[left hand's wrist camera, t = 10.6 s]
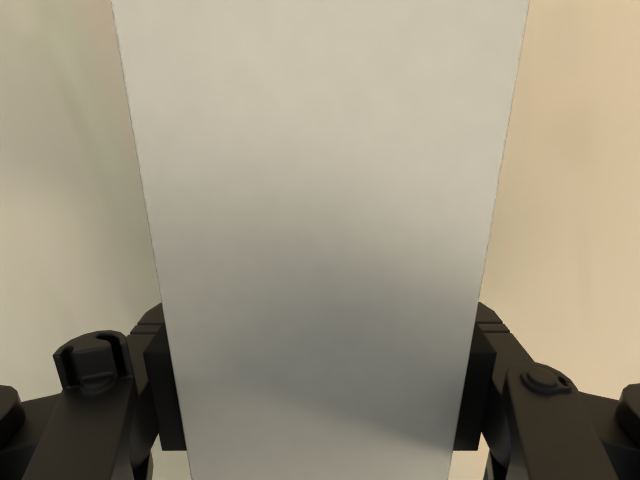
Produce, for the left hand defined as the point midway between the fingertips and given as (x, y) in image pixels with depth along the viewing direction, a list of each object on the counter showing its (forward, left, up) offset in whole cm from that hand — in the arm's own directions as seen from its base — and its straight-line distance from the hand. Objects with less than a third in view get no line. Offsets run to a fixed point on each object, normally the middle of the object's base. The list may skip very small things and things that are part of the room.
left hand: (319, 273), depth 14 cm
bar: (+17, -19, -1) cm, 25 cm away
